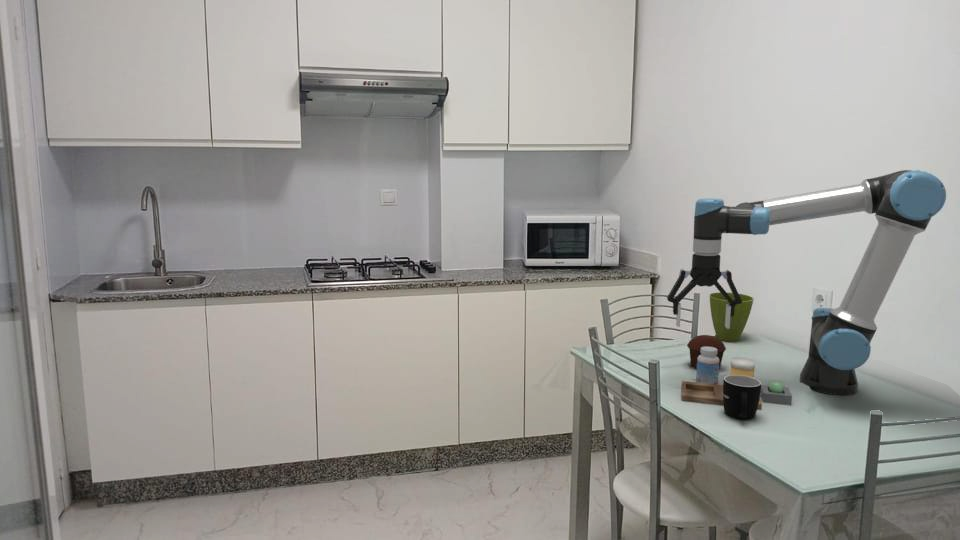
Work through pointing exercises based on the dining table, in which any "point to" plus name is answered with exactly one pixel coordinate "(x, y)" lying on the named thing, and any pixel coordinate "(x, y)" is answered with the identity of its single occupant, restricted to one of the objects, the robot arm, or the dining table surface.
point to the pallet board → (704, 393)
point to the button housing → (776, 396)
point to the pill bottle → (707, 366)
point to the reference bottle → (742, 366)
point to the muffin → (704, 341)
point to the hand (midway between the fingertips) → (702, 326)
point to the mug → (741, 396)
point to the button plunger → (776, 387)
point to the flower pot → (736, 321)
